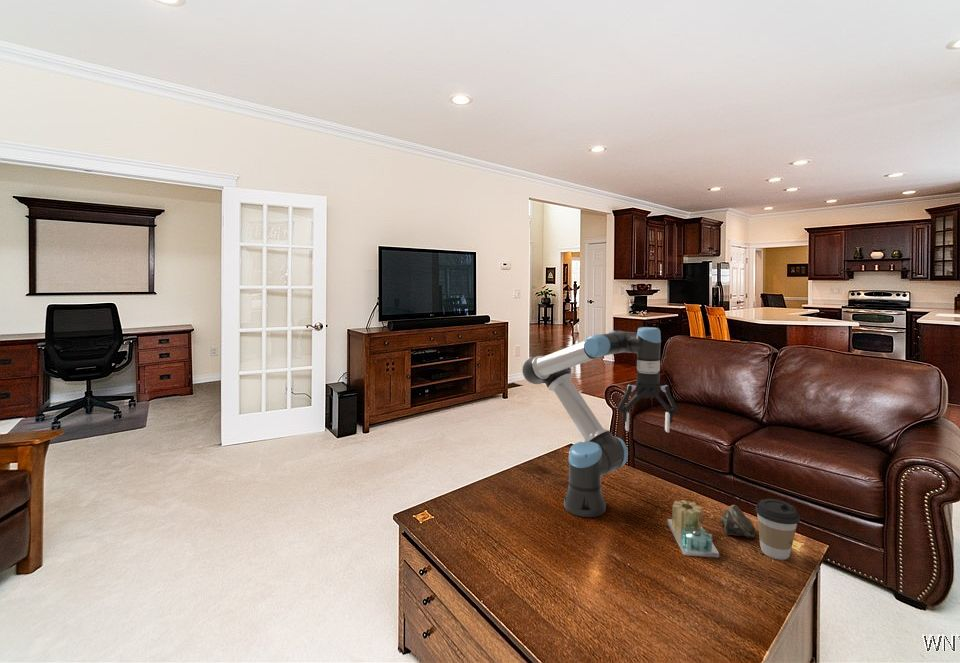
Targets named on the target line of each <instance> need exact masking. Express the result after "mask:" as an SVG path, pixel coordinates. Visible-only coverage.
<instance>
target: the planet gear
mask: <svg viewBox="0 0 960 663" xmlns="http://www.w3.org/2000/svg"><path fill="white" fill-rule="evenodd" d="M702 514H703V507H701V506H698V505H697V503H696V502H694V501H691V502H690V501H686V500H685V499H681V500H678V501H677V500H676V501H673V504H672V518H671V519H672V525H673V527H676V528H677V529H678V531H680V532H682V528H683V527H685V528H690V526H694V527H695V528H697V529H701V526H702Z"/></svg>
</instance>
